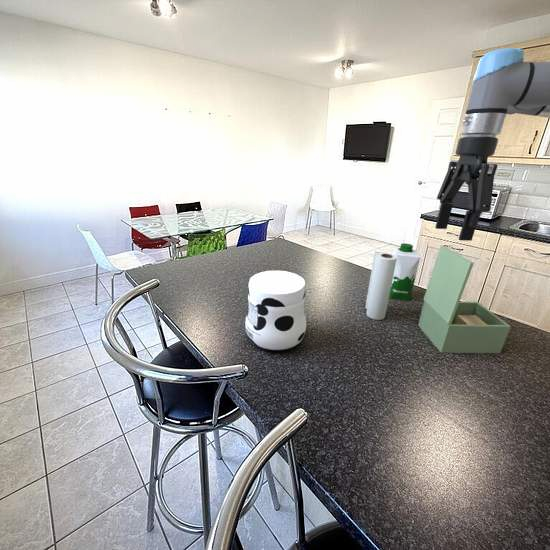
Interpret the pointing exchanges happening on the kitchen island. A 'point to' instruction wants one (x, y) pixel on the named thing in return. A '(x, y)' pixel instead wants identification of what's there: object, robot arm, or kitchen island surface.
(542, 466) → the kitchen island surface
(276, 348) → the milk container
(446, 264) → the lid
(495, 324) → the green hinged box
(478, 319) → the block
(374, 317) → the paper towel roll
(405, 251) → the milk carton
